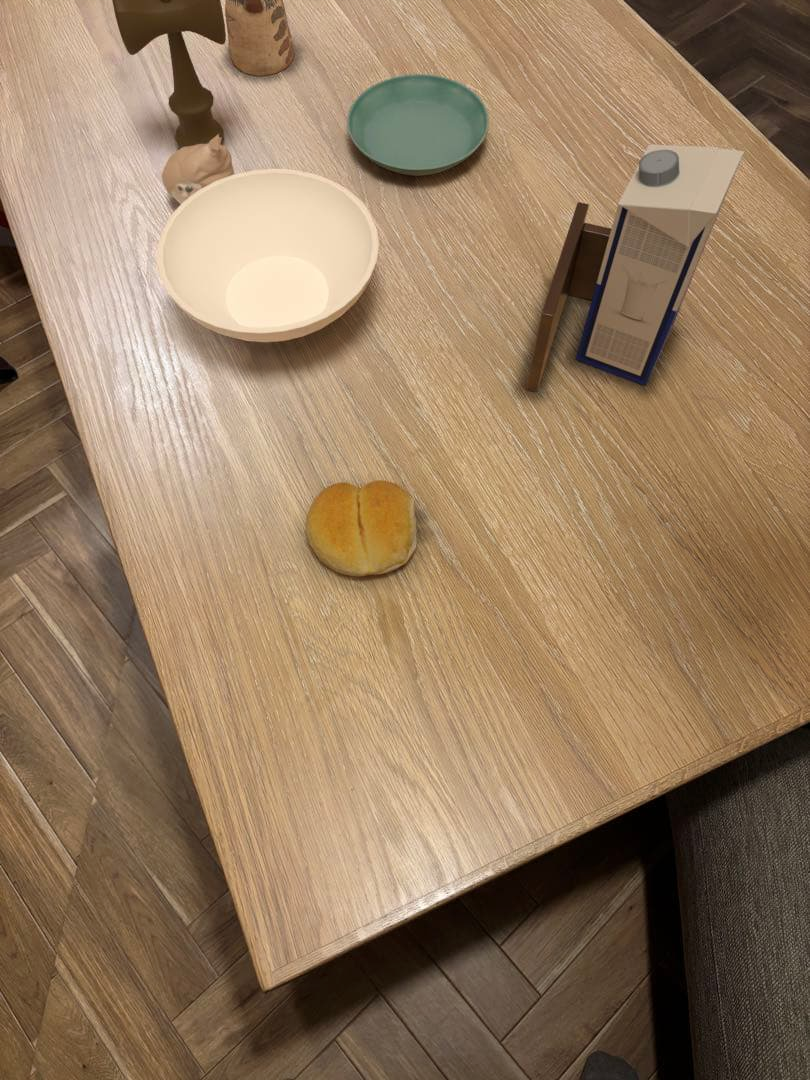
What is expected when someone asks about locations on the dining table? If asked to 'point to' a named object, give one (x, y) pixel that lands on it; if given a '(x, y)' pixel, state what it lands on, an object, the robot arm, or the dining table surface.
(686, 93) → the dining table surface
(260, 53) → the figurine
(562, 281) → the shelf
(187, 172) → the garlic bulb
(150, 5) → the kendama
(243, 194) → the bowl
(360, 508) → the bread roll
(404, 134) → the saucer
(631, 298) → the milk carton
